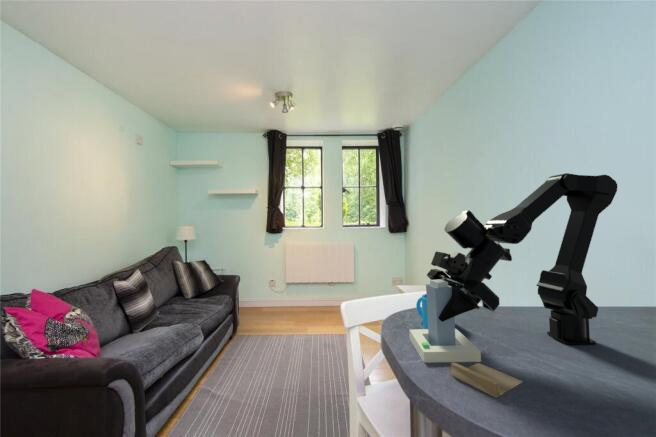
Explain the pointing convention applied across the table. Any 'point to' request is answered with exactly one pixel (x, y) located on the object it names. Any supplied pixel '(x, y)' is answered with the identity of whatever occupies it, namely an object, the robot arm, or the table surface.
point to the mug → (423, 310)
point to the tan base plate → (485, 378)
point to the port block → (444, 348)
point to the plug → (436, 302)
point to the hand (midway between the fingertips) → (434, 316)
